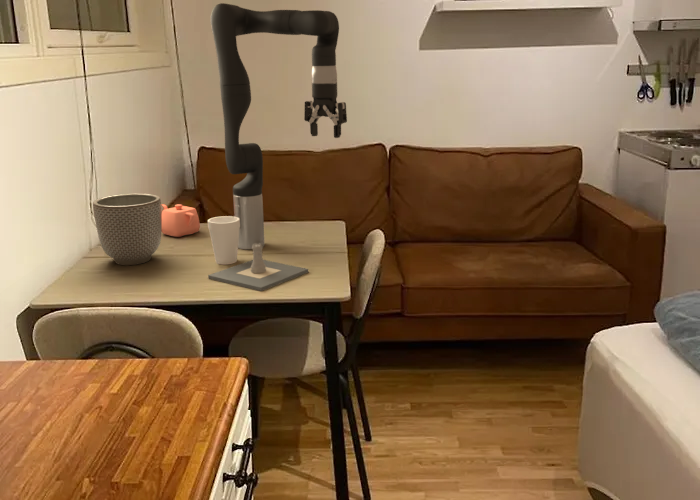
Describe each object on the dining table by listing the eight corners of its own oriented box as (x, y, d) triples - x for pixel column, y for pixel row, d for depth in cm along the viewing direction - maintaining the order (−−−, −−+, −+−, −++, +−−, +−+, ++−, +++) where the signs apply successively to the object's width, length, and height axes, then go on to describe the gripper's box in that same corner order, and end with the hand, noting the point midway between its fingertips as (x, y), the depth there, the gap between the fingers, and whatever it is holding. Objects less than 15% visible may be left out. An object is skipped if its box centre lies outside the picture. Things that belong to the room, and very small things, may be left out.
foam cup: (226, 255, 228) (223, 214, 224) (248, 260, 223) (246, 218, 219) (204, 262, 220) (201, 220, 217) (226, 267, 215) (223, 224, 212)
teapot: (182, 240, 246) (179, 210, 244) (150, 233, 258) (147, 204, 255) (208, 234, 255) (206, 204, 252) (177, 226, 266) (174, 198, 263)
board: (208, 278, 205) (208, 274, 205) (257, 261, 221) (256, 258, 221) (261, 291, 194) (260, 287, 194) (308, 272, 210) (308, 268, 209)
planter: (87, 261, 224) (79, 200, 219) (143, 248, 238) (138, 190, 232) (121, 274, 211) (114, 209, 206) (178, 259, 225) (173, 198, 219)
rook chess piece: (251, 269, 209) (249, 242, 207) (266, 268, 210) (265, 242, 207) (250, 274, 205) (248, 246, 203) (266, 273, 205) (264, 246, 203)
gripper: (297, 82, 217) (299, 136, 221) (336, 82, 209) (337, 139, 213) (313, 80, 223) (315, 134, 227) (351, 81, 214) (352, 136, 219)
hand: (325, 136), depth 220 cm, fingers open, 8 cm apart
